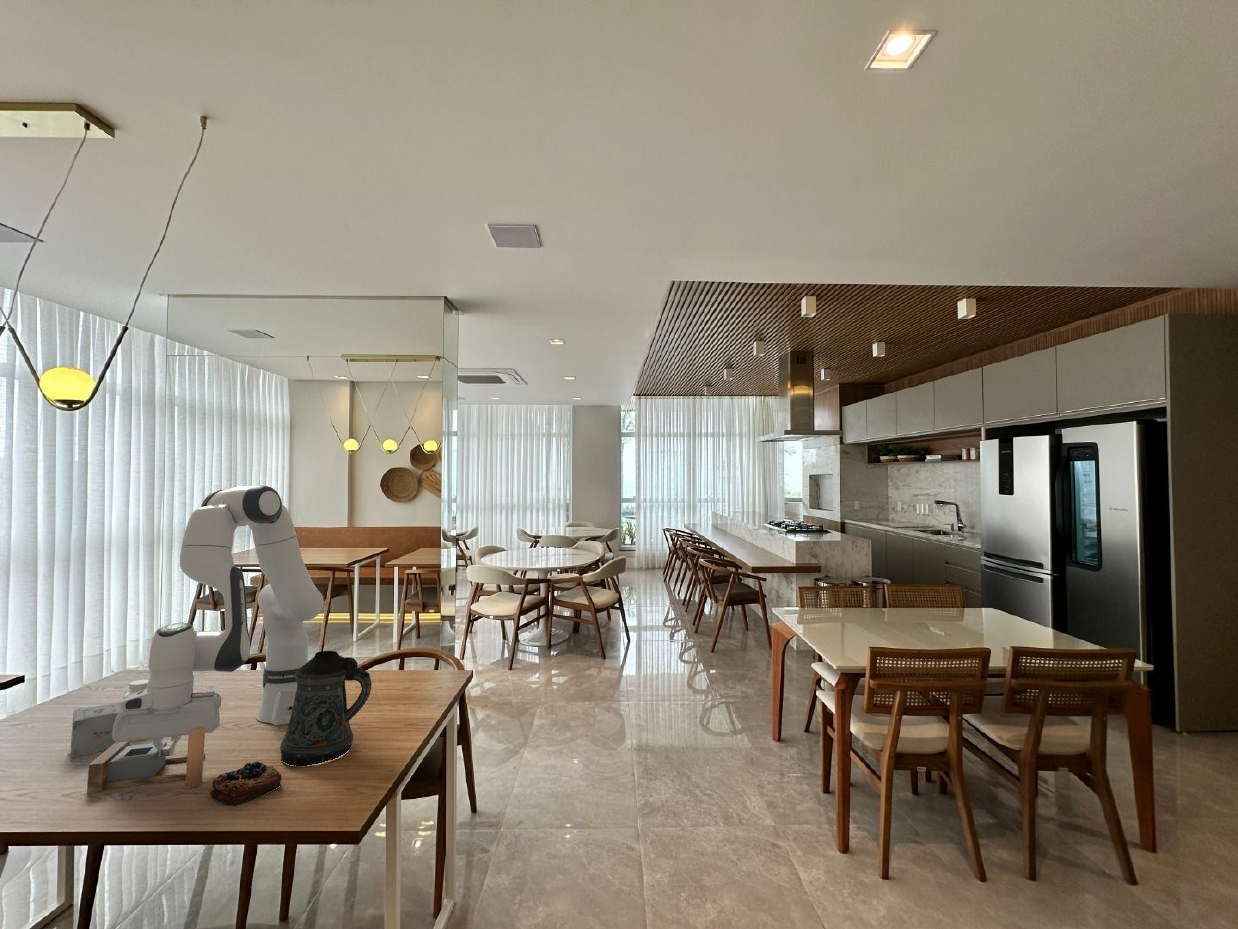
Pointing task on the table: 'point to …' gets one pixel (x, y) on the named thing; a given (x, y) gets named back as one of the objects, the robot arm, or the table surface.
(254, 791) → the pastry
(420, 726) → the table surface
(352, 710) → the beer stein
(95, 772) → the rail frame
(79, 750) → the incense holder
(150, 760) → the block
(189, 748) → the dowel
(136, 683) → the supplement bottle
